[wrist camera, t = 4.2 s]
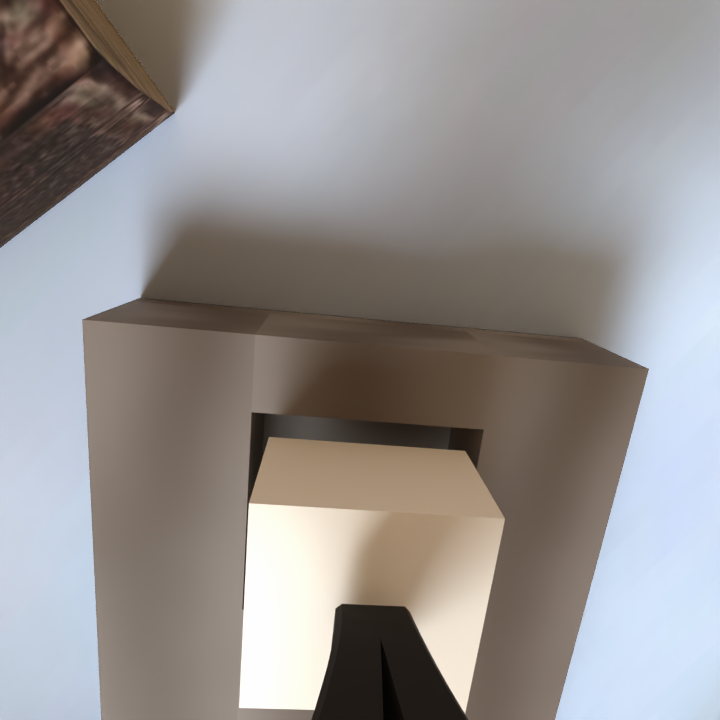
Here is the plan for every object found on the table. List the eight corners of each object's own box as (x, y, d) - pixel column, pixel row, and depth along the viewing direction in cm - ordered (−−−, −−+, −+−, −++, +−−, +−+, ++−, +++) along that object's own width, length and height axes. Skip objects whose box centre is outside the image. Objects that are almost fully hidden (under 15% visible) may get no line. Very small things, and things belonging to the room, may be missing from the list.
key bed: (581, 338, 16) (648, 368, 12) (472, 820, 22) (498, 930, 18) (139, 298, 15) (82, 319, 11) (148, 817, 20) (111, 933, 17)
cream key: (465, 451, 12) (504, 518, 10) (437, 611, 14) (465, 713, 11) (268, 437, 12) (248, 503, 9) (259, 604, 13) (239, 707, 10)
